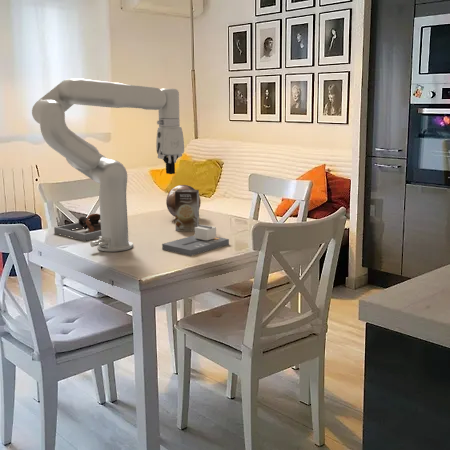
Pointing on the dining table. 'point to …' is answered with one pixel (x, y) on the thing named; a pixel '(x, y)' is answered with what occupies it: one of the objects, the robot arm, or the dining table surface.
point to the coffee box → (186, 209)
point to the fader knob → (205, 232)
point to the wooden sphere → (171, 198)
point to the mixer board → (194, 245)
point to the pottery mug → (91, 222)
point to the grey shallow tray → (67, 231)
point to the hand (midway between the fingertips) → (170, 173)
